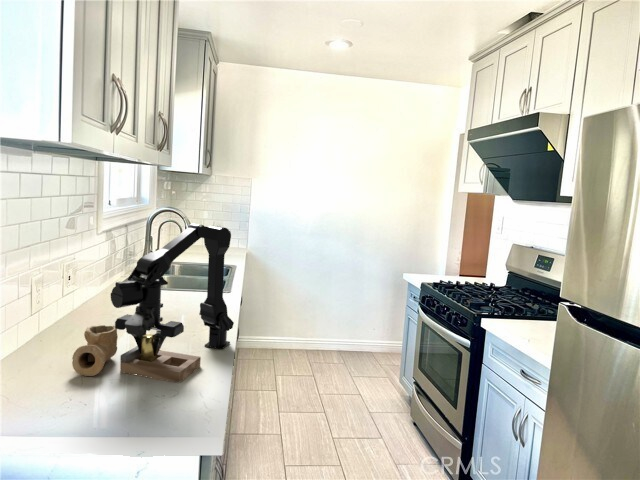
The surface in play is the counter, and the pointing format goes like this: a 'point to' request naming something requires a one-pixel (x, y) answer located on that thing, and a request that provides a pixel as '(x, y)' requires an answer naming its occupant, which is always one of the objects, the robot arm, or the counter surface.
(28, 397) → the counter surface
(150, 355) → the brass cylinder rod
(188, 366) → the jig
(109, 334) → the pipe
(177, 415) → the counter surface
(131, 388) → the counter surface
